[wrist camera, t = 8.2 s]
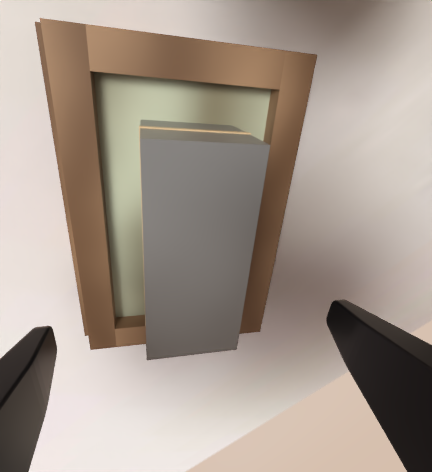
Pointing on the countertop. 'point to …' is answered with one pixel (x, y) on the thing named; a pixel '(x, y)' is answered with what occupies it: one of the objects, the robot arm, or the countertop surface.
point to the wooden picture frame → (128, 151)
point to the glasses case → (197, 232)
